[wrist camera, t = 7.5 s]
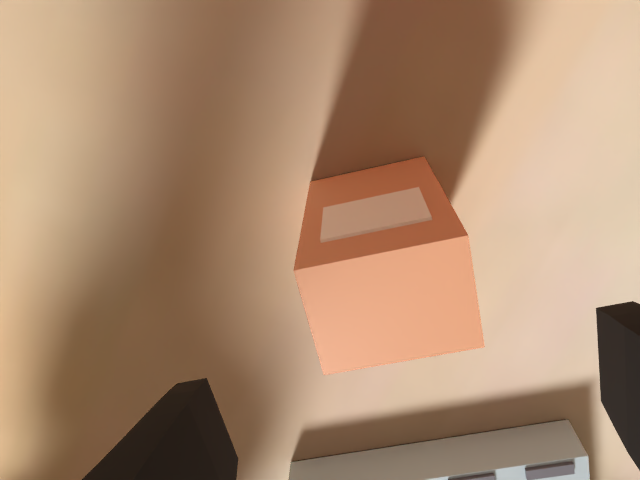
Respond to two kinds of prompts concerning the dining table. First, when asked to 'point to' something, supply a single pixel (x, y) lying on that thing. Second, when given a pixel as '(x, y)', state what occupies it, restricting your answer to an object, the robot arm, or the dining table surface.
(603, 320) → the robot arm
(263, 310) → the dining table surface
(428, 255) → the stub tab
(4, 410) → the dining table surface
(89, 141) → the dining table surface
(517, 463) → the pad
